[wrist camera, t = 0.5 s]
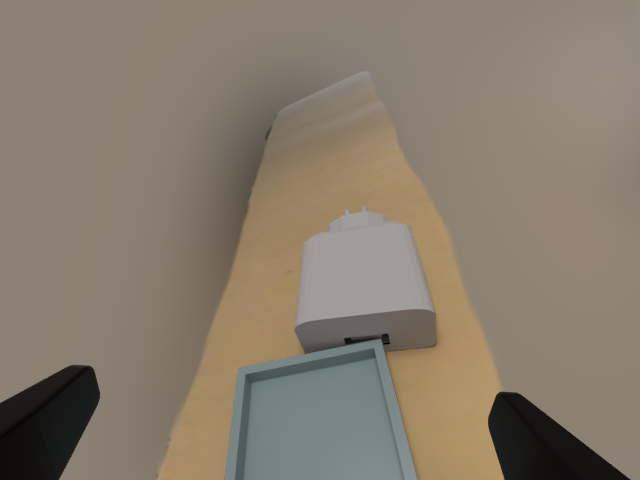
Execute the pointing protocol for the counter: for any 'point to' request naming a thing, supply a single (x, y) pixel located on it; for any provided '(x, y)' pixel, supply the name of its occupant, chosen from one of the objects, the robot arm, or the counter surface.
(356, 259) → the charger
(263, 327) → the counter surface
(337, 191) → the counter surface
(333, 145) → the counter surface
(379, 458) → the tray
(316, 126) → the counter surface
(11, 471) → the robot arm
